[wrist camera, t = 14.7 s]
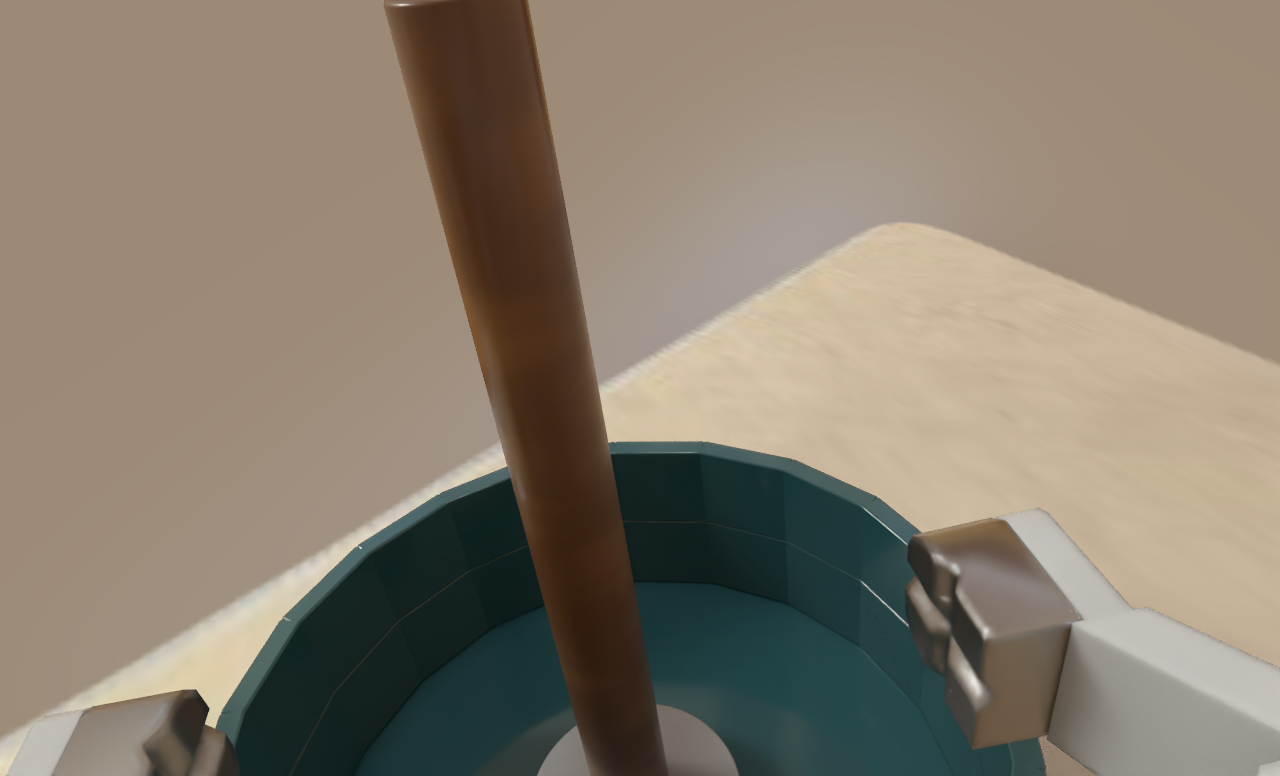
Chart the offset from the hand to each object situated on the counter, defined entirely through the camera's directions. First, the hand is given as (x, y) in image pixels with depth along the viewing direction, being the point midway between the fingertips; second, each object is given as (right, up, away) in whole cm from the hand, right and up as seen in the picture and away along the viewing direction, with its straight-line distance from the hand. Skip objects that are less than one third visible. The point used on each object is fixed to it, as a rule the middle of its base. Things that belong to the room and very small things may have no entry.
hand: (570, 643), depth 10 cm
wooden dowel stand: (+1, -8, +11) cm, 14 cm away
